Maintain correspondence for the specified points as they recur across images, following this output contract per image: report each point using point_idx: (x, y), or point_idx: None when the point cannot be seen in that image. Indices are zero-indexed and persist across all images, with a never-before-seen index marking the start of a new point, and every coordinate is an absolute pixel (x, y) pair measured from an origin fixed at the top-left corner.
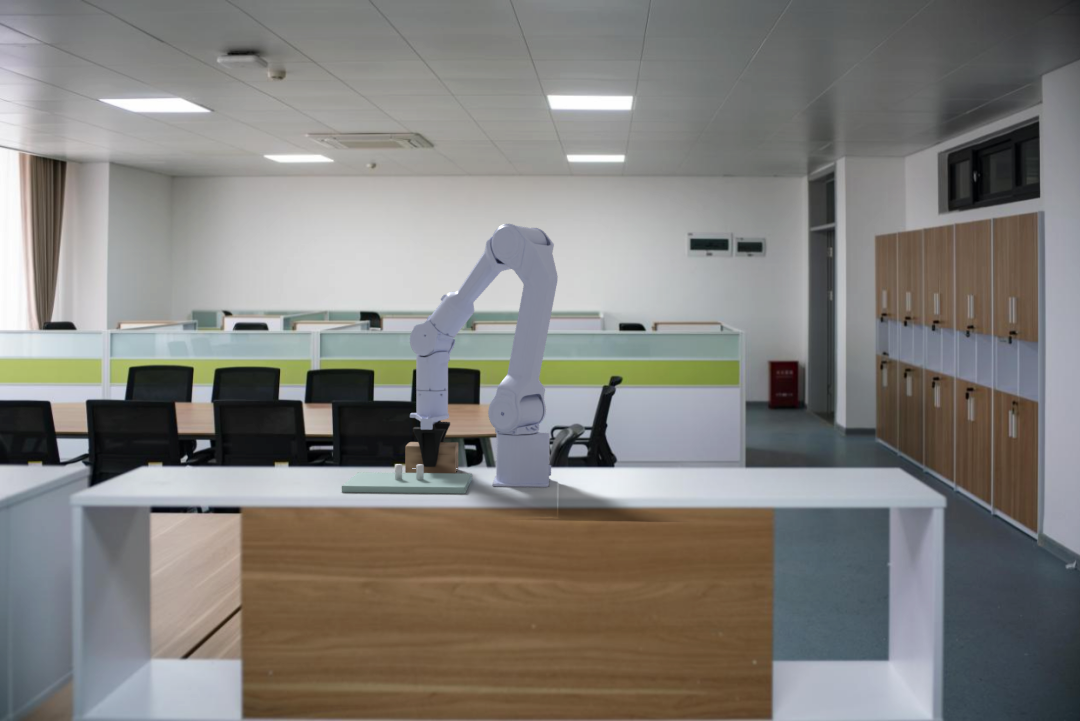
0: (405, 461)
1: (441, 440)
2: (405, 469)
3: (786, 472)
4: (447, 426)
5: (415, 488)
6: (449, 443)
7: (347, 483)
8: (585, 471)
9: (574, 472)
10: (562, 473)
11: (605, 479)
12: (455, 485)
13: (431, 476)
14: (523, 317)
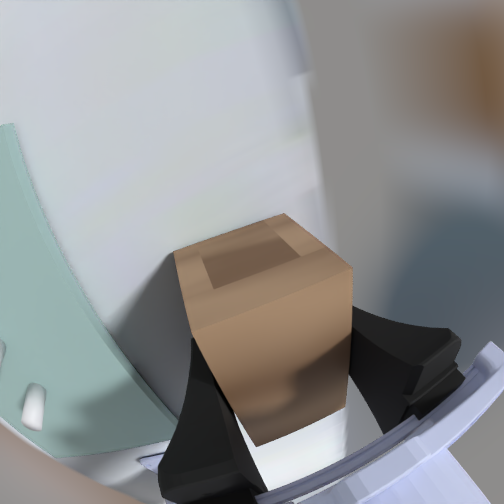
0: (179, 279)
1: (354, 379)
2: (175, 259)
3: None
4: (383, 432)
5: None
6: (324, 405)
7: None
8: (318, 452)
9: (310, 452)
10: (300, 451)
11: (268, 480)
12: (54, 448)
13: (89, 397)
14: None
